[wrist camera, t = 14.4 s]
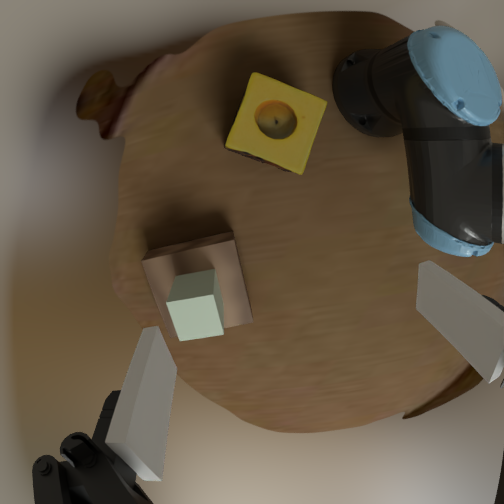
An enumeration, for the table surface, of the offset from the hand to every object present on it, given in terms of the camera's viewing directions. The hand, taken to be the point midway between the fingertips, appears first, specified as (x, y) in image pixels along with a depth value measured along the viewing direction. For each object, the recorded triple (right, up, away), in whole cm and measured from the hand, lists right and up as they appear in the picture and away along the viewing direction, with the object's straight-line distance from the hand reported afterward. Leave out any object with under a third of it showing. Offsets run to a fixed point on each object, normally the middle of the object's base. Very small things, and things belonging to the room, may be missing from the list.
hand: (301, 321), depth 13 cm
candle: (0, +21, +28) cm, 35 cm away
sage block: (-10, -3, +30) cm, 32 cm away
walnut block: (-11, -1, +35) cm, 36 cm away
